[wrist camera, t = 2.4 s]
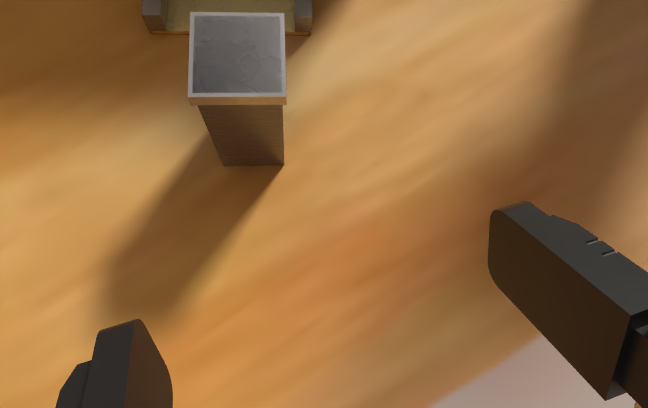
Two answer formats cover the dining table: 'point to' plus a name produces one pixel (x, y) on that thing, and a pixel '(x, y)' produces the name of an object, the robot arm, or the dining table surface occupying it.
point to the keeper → (176, 4)
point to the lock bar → (240, 83)
